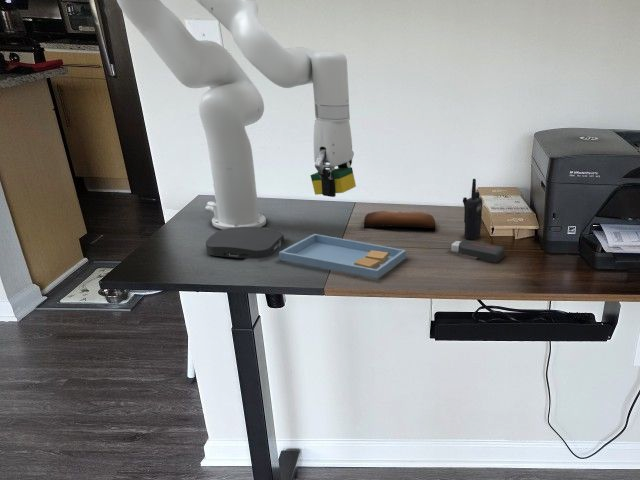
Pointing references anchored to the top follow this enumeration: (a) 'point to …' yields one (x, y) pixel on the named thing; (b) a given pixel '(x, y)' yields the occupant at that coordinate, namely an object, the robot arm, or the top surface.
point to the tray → (340, 255)
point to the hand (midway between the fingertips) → (336, 191)
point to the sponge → (336, 180)
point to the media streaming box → (245, 242)
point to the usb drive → (479, 250)
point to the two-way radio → (472, 214)
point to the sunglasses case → (399, 219)
